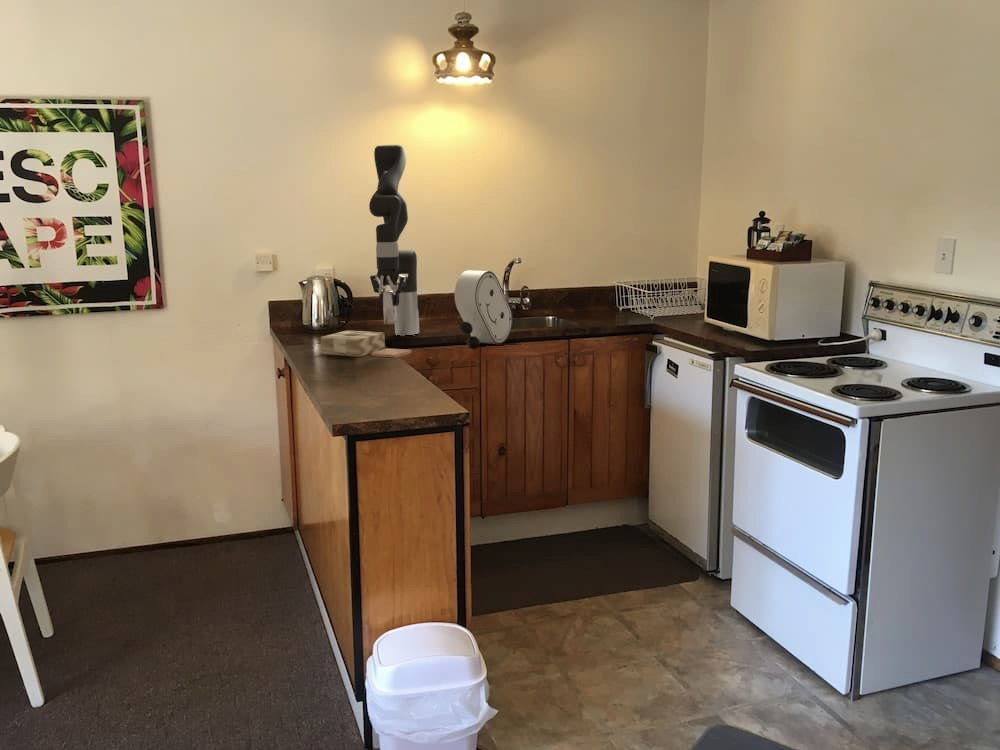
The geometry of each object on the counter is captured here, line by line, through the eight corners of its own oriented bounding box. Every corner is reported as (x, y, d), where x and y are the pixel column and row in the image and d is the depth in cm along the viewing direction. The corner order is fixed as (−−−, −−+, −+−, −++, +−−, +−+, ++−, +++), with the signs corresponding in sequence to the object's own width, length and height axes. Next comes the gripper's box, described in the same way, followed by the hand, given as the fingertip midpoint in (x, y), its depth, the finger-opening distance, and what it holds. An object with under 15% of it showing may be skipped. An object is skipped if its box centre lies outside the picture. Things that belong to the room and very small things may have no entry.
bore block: (348, 346, 319) (347, 330, 318) (385, 349, 312) (384, 332, 311) (321, 353, 305) (320, 336, 304) (359, 356, 298) (358, 339, 297)
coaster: (387, 351, 308) (387, 348, 308) (411, 352, 304) (411, 350, 304) (371, 355, 300) (371, 353, 299) (396, 357, 295) (395, 354, 295)
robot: (460, 309, 294) (489, 261, 306) (439, 308, 298) (469, 261, 311) (490, 368, 314) (516, 321, 327) (470, 366, 318) (497, 319, 331)
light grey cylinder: (388, 322, 302) (386, 290, 300) (399, 322, 300) (397, 291, 298) (381, 324, 298) (379, 292, 296) (392, 324, 297) (390, 292, 294)
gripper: (411, 254, 295) (413, 304, 299) (376, 254, 301) (378, 303, 305) (399, 256, 288) (401, 307, 292) (363, 255, 295) (366, 305, 298)
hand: (389, 305), depth 298 cm, fingers closed on light grey cylinder, 4 cm apart
